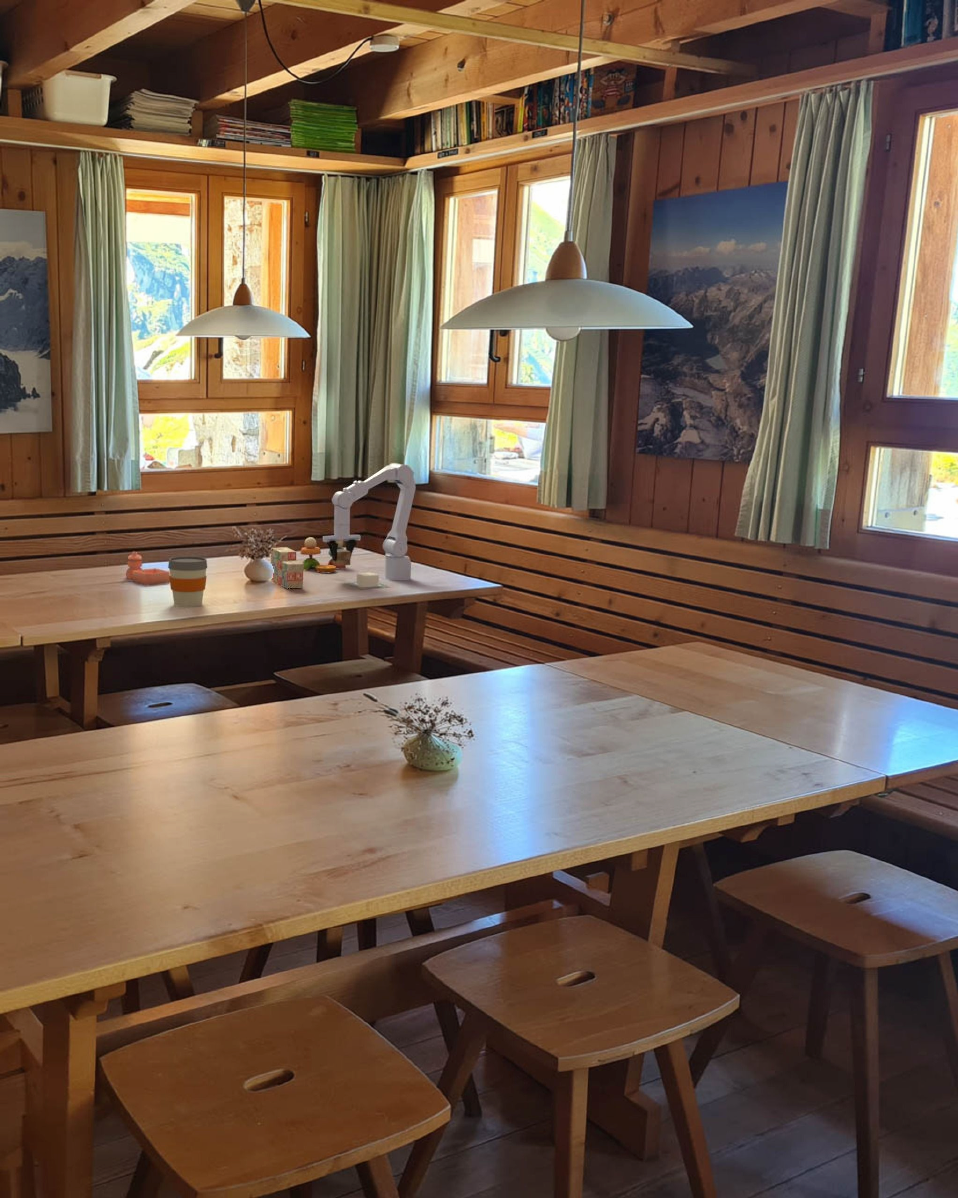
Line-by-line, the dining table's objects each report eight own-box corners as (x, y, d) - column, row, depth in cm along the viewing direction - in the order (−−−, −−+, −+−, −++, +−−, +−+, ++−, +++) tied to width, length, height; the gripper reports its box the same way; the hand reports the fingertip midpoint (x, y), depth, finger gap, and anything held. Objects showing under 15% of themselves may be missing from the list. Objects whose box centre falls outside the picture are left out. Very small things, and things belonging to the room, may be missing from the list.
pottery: (169, 583, 428) (169, 556, 426) (147, 585, 421) (146, 558, 419) (141, 576, 439) (141, 549, 437) (118, 578, 432) (118, 552, 430)
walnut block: (344, 562, 444) (344, 549, 443) (350, 564, 439) (350, 551, 438) (332, 563, 441) (332, 550, 440) (338, 565, 437) (338, 552, 436)
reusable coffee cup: (212, 606, 389) (212, 561, 386) (174, 608, 383) (174, 563, 380) (201, 599, 400) (200, 555, 397) (164, 601, 394) (163, 557, 391)
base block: (371, 583, 440) (371, 572, 440) (378, 585, 436) (378, 575, 435) (356, 583, 437) (356, 573, 437) (364, 586, 432) (364, 575, 432)
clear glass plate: (373, 581, 445) (373, 580, 445) (390, 588, 434) (390, 586, 434) (344, 583, 439) (344, 582, 439) (361, 590, 428) (361, 589, 427)
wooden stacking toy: (319, 574, 457) (320, 542, 455) (296, 567, 470) (296, 536, 468) (358, 571, 469) (359, 539, 466) (334, 564, 481) (335, 534, 479)
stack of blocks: (303, 589, 426) (303, 555, 424) (286, 589, 423) (286, 555, 421) (286, 578, 445) (287, 546, 443) (270, 579, 442) (270, 546, 440)
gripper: (354, 521, 444) (354, 557, 447) (319, 523, 437) (319, 559, 439) (363, 524, 439) (362, 560, 441) (327, 525, 431) (327, 562, 434)
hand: (341, 560), depth 440 cm, fingers closed on walnut block, 5 cm apart
